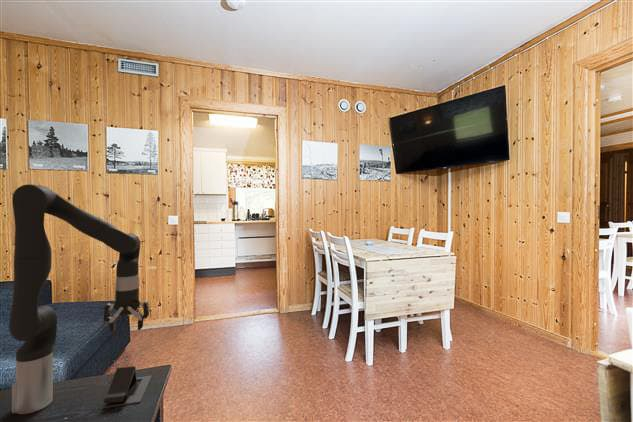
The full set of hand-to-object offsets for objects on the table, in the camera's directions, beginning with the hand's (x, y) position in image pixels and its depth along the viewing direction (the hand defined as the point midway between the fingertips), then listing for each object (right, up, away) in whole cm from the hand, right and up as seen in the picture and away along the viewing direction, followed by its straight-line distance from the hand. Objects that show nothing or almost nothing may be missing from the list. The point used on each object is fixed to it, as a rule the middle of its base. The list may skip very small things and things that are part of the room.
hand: (126, 330), depth 112 cm
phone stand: (0, -18, +1) cm, 18 cm away
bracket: (+2, -22, -1) cm, 22 cm away
